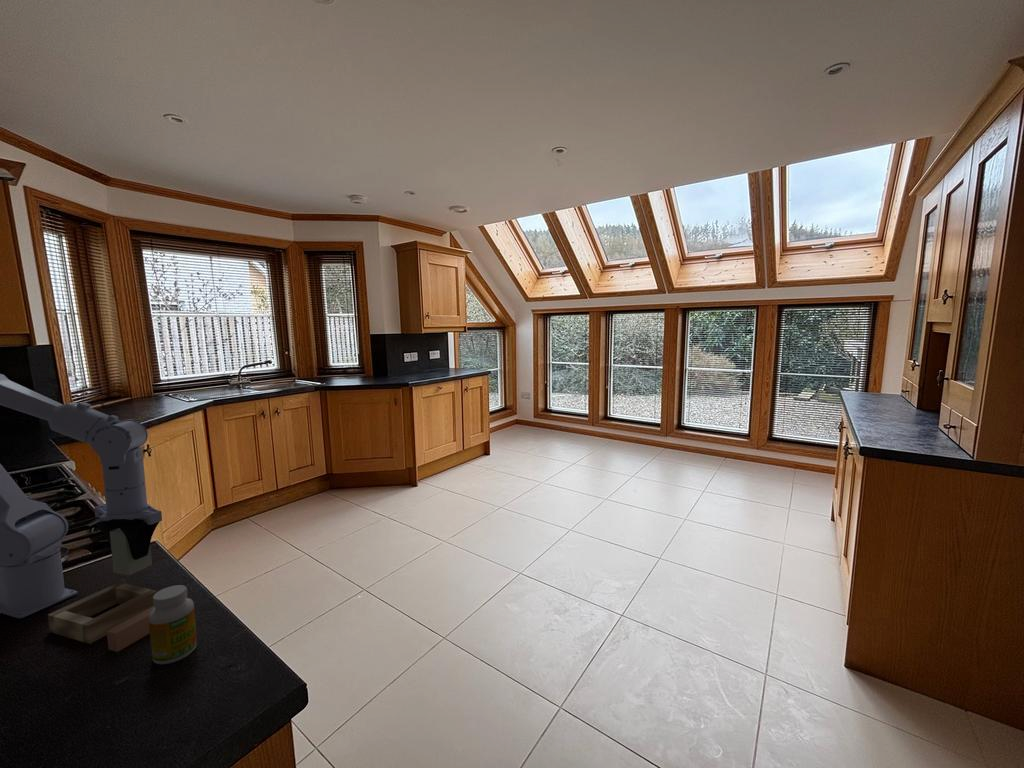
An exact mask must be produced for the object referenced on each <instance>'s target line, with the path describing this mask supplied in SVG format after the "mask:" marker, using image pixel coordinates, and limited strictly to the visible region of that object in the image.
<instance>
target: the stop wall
mask: <svg viewBox="0 0 1024 768" xmlns="http://www.w3.org/2000/svg"><path fill="white" fill-rule="evenodd" d="M154 608H155V607H154V606H153V607H151V608H149V609H147V610H145V611H143V612H141V613H140V614H138V615H136V616H134V617H132V618H130V619H128V620H127V621H125V622H123V623H121V624H119V625H117V626H115V627H113V628H112V629H110V630H108V631H107V635H106V637H107V638H106V639H107V647H108V651H112V652H115V653H119V652H120V651H122V650H123V649H125V648H127V647H129V646H130V645H132V644H133V643H136V642H137V641H139V640H141V639H142V638H144V637H145V636H148V635H150V628H149V614H150V612H151V611H152V610H153V609H154Z"/></svg>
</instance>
